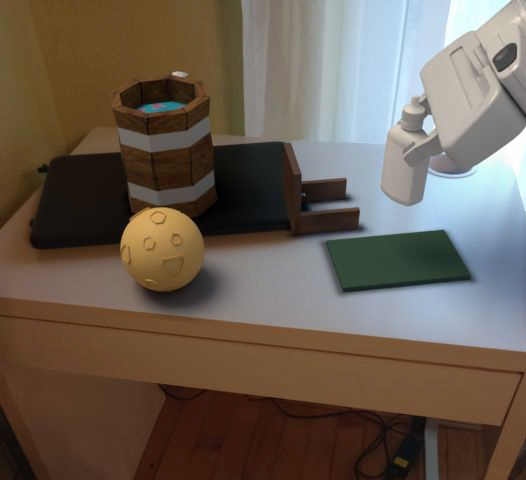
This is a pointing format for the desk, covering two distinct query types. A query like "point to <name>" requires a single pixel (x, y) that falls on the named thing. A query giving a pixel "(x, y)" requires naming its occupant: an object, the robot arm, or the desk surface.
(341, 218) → the holder
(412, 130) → the eye dropper bottle
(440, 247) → the mat
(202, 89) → the mug
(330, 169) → the desk surface
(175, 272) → the stress ball
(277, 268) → the desk surface
